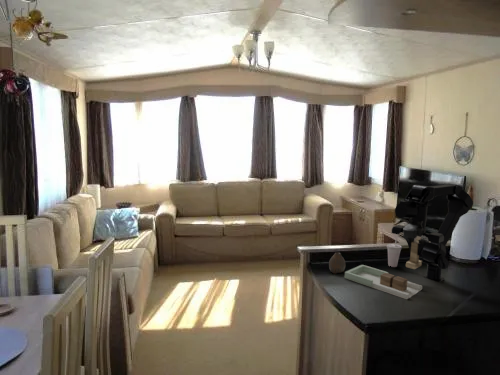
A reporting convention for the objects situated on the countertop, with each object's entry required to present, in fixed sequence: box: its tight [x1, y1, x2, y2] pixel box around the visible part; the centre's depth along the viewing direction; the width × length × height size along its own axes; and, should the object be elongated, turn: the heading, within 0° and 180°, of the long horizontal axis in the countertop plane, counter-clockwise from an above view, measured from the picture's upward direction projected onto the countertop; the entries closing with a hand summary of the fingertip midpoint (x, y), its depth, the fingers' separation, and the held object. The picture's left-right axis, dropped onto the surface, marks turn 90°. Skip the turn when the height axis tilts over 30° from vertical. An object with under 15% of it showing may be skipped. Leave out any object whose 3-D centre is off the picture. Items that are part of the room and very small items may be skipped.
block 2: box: [392, 275, 409, 292], centre depth 142 cm, size 4×4×4 cm
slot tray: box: [344, 264, 423, 300], centre depth 147 cm, size 14×26×4 cm, turn 43°
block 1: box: [380, 273, 396, 287], centre depth 145 cm, size 4×4×4 cm
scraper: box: [405, 240, 423, 270], centre depth 149 cm, size 7×4×10 cm, turn 133°
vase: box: [328, 252, 346, 275], centre depth 160 cm, size 7×7×9 cm
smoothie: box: [386, 236, 402, 268], centre depth 170 cm, size 6×6×14 cm
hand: (414, 254), depth 149 cm, fingers closed on scraper, 2 cm apart
